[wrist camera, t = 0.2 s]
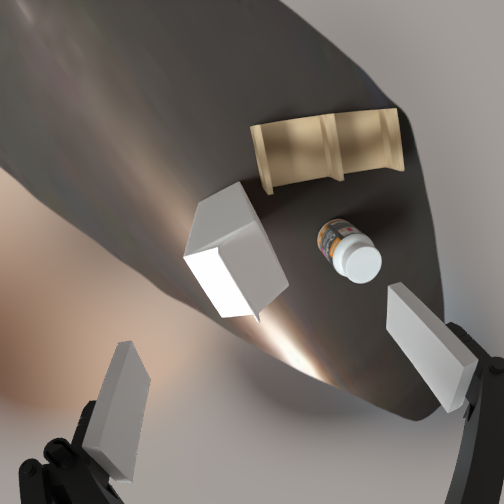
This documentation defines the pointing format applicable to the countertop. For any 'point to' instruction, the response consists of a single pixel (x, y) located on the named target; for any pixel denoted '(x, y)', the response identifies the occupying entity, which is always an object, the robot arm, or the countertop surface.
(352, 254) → the pill bottle
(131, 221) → the countertop surface
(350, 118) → the rack
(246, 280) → the milk
